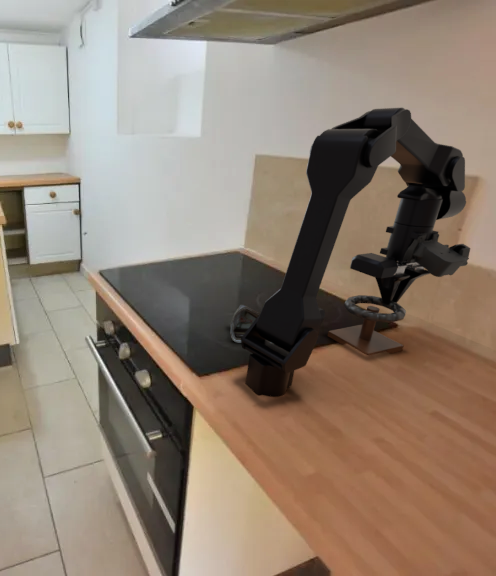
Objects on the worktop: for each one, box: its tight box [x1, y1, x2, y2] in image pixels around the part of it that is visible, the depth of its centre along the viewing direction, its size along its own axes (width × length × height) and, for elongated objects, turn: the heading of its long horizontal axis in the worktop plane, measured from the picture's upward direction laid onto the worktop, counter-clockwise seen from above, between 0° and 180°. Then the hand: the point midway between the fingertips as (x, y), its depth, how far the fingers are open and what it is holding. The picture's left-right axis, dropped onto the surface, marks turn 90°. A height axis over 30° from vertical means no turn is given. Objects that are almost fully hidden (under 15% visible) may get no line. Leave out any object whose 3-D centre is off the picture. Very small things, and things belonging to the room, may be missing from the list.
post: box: [327, 305, 405, 356], centre depth 74 cm, size 9×9×8 cm
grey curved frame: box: [229, 304, 273, 344], centre depth 78 cm, size 10×7×12 cm
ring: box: [343, 294, 407, 323], centre depth 72 cm, size 10×10×2 cm
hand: (389, 303), depth 73 cm, fingers closed on ring, 1 cm apart
